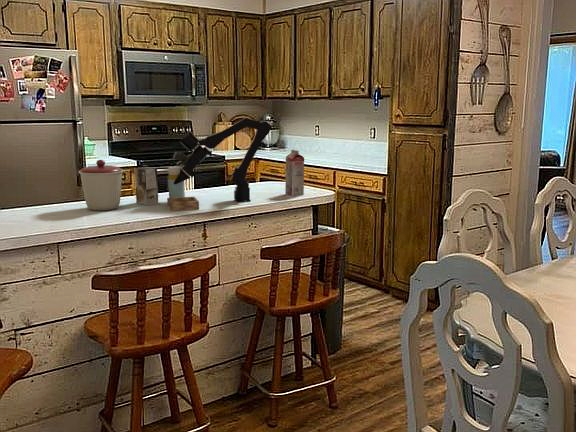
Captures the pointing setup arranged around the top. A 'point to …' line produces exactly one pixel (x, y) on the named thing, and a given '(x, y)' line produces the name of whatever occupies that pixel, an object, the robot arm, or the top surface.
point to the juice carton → (294, 174)
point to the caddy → (182, 203)
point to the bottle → (174, 189)
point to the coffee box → (146, 185)
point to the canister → (101, 186)
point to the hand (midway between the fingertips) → (173, 182)
